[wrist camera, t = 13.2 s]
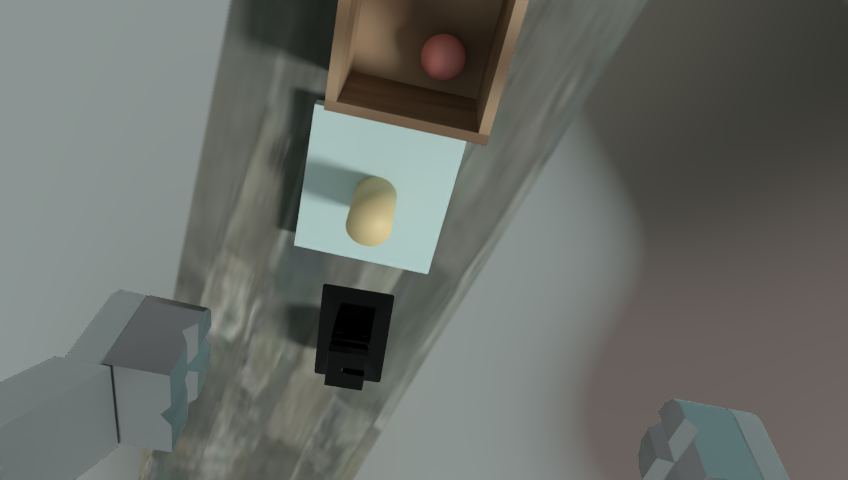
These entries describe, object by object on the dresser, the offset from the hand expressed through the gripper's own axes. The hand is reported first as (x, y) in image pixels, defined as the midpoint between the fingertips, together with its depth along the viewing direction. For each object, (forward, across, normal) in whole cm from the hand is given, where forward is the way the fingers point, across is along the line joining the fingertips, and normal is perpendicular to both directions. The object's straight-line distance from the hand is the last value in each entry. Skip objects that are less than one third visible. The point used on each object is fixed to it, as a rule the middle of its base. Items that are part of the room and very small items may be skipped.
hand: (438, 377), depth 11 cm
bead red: (+29, 0, +3) cm, 29 cm away
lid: (+28, +2, +13) cm, 32 cm away
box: (+30, +1, +1) cm, 30 cm away
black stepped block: (+30, +2, +27) cm, 40 cm away
